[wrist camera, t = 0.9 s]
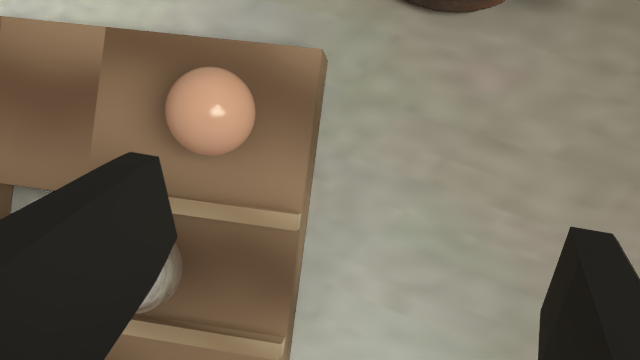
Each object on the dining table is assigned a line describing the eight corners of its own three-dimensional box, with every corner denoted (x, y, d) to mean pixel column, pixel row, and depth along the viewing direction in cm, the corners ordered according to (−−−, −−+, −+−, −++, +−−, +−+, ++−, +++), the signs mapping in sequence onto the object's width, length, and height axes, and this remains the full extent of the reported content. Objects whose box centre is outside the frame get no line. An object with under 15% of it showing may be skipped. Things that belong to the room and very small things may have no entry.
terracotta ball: (258, 162, 22) (236, 159, 19) (179, 152, 22) (144, 147, 19) (269, 80, 22) (249, 62, 19) (189, 71, 22) (156, 53, 19)
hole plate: (273, 487, 24) (257, 529, 21) (-73, 419, 26) (-131, 450, 23) (327, 60, 24) (319, 43, 21) (-25, 23, 25) (-78, 3, 22)
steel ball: (189, 309, 22) (156, 330, 19) (112, 296, 22) (66, 315, 19) (199, 227, 22) (168, 235, 19) (122, 216, 22) (78, 222, 19)
